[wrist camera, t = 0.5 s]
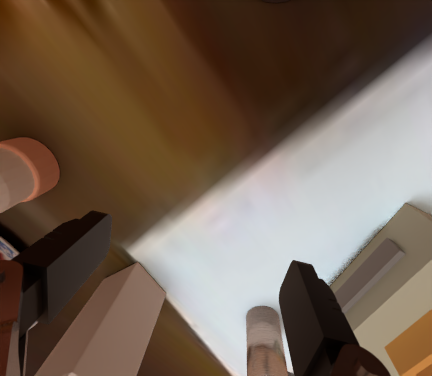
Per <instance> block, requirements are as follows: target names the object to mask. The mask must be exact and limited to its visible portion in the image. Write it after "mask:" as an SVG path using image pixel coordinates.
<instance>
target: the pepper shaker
mask: <svg viewBox="0 0 432 376" xmlns="http://www.w3.org/2000/svg"><path fill="white" fill-rule="evenodd" d="M59 177H60V169H59V166H58V162H57V160H56V159H55V157H54V155H53V153H52V152H51V151H50V150H49V149H48V148H47V147H46V146H45V145H43V144H42V143H40V142H39V141H37V140H34V139H31V138H28V137H18V138H14V139H10V140H5V141H1V142H0V213H2V212H3V211H5V210H7V209H9V208H11V207H12V206H14V205H16V204H18V203H19V202H26V201H29V200H32V199H34V198H36V197H38V196H40V195H41V194H43V193H45V192H47V191H49V190H51V189H52V188H53V187H54V186H56V185H57V183H58V180H59Z"/></svg>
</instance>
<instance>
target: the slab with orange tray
mask: <svg viewBox="0 0 432 376" xmlns="http://www.w3.org/2000/svg"><path fill="white" fill-rule="evenodd" d="M330 288H331V289H332V291H333V293H334V295H335V297H336V299H337V303H339V305H340V307H341V309H342V312H343V313H344V315H345V317H346V319H347V321H348V323H349V325H350V327H351V329H352V331H353V333H354V335H355V337H356V339H357V341H358V343H359V345H360V346H361V347H363V348H365V349H366V350H368V351H369V352H371V353H372V354H373V355H375V356H376V357H377V358H378V359H379V360H380V361H381V362H382V363H383V364H384V366H385V367H386V368H387V370H388V371H389V373H390V375H391V376H432V216H431V215H429V214H427V213H425V212H423V211H421V210H419V209H417V208H415V207H413V206H411V205H408V204H406V203H405V204H404V205H403V207H402V208H401V209H400V210H399V211H398V212H397V213H396V214H395V215H394V216H393V218H392V219H391V220H390V221H389V222H388V223H387V224H386V225H385V226H384V227H383V229H382V230H381V231H380V232H379V233H378V234H377V235H376V236H375V237H374V238H373V240H372V241H371V242H370V243H369V244H368V245H367V246H366V247H365V248H364V250H363V251H362V252H361V253H360V254H359V255H358V256H357V257H356V258H355V259H354V261H353V262H352V263H351V264H350V265H349V266H348V267H347V268H346V269H345V270H344V272H343V273H342V274H341V275H340V276H339V277H338V278H337V279H336V280H335V281H334V283H333V284H332V285H331V286H330Z"/></svg>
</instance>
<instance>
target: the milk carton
mask: <svg viewBox="0 0 432 376" xmlns="http://www.w3.org/2000/svg"><path fill="white" fill-rule="evenodd" d="M165 296H166V293H165V292H164V291H163V290H162V289H161V287H160V286H159V285H158V284H157V283H156V282H155V281H154V280H153V278H152V277H151V276H150V275H149V274H148V273H147V272H146V271H145V269H144V268H143V267H142V266H141V265H140V264H139V263H138V262H137V263H135V264H133V265H131V266H129V267H127V268H125V269H123V270H121V271H119V272H117V273H115V274H113V275H111V276H109V277H107V278H105V279H104V280H103V281H102V282H101V284H100V285H99V287H98V288H97V289H96V291H95V292H94V294H93V295H92V296H91V298H90V299H89V301H88V302H87V303H86V305H85V306H84V308H83V309H82V310H81V312H80V313H79V315H78V316H77V317H76V319H75V320H74V321H73V323H72V324H71V326H70V327H69V328H68V330H67V331H66V333H65V334H64V335H63V337H62V338H61V340H60V341H59V342H58V344H57V345H56V347H55V348H54V349H53V351H52V352H51V354H50V355H49V356H48V358H47V359H46V361H45V362H44V363H43V365H42V366H41V368H40V369H39V370H38V372H37V373H36V375H35V376H136V375H137V372H138V369H139V367H140V364H141V361H142V358H143V356H144V353H145V350H146V348H147V345H148V342H149V339H150V337H151V334H152V331H153V328H154V326H155V323H156V320H157V317H158V315H159V312H160V309H161V307H162V304H163V301H164V298H165Z"/></svg>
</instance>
